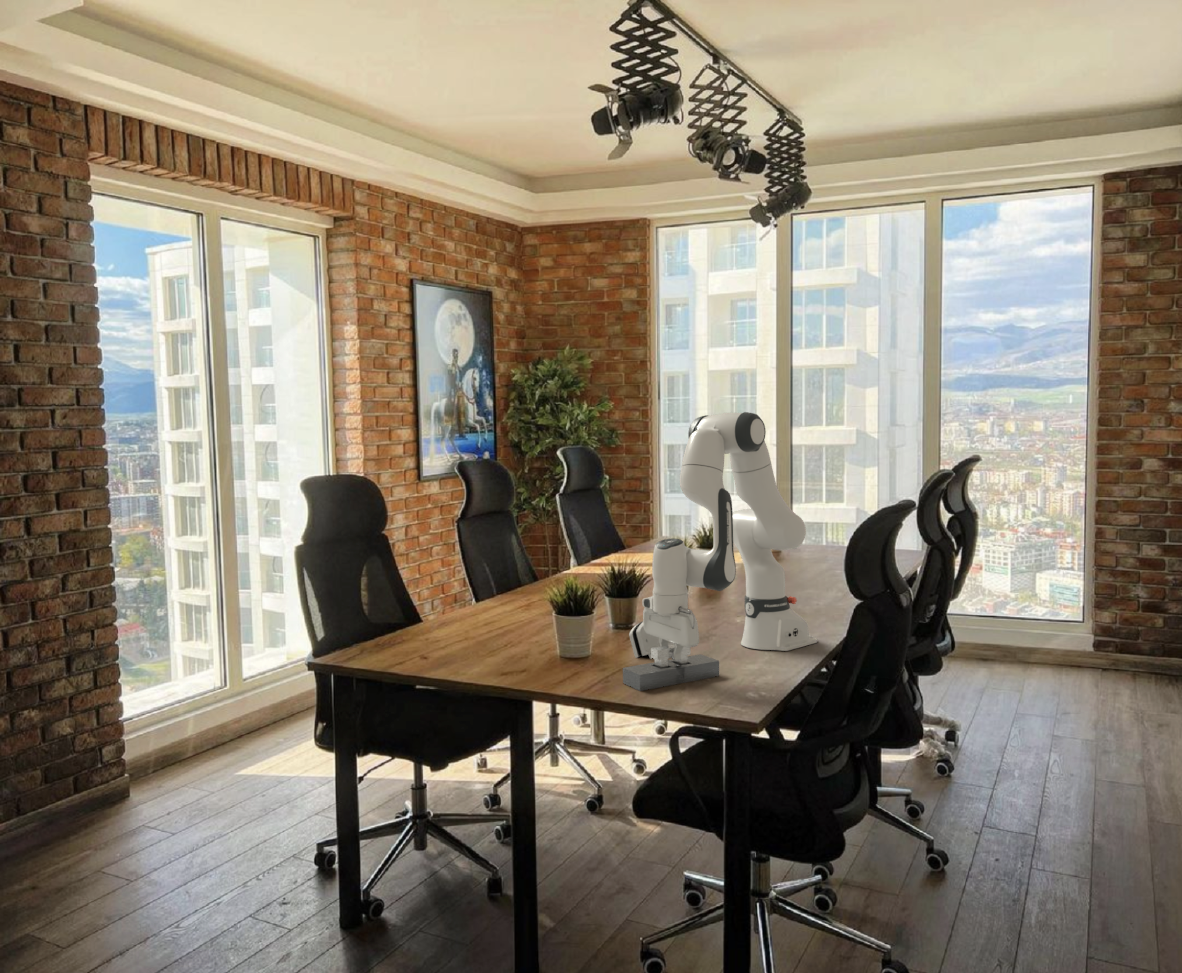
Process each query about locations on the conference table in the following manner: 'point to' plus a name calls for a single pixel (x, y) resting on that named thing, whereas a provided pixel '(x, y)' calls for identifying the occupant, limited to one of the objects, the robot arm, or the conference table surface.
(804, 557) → the conference table surface
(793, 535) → the robot arm
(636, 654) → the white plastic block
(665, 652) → the clip
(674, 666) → the rail
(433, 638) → the conference table surface
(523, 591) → the conference table surface
